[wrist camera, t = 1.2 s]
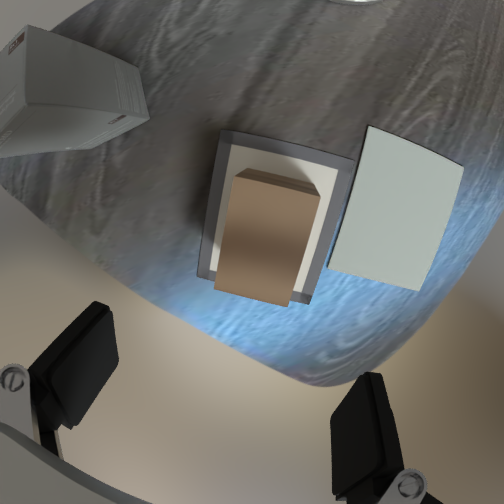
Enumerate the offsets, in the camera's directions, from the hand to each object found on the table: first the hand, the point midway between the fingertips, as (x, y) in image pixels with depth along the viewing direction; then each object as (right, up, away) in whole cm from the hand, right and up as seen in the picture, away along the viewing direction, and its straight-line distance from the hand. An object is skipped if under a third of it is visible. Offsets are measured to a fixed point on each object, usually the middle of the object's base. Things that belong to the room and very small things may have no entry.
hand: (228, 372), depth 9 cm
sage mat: (+15, +8, +14) cm, 22 cm away
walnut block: (+2, +7, +16) cm, 18 cm away
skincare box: (-13, +19, +14) cm, 27 cm away
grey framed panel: (+2, +7, +16) cm, 18 cm away
